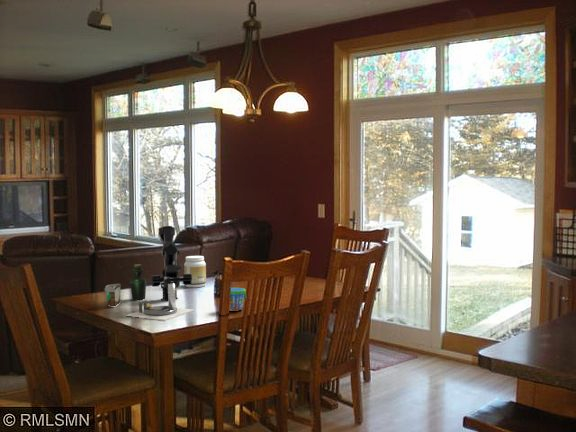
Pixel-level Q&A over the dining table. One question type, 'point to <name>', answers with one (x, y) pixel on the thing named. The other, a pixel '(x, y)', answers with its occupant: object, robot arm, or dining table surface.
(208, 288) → the dining table surface
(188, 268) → the supplement tub
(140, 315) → the level stand
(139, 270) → the potion bottle
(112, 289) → the food container
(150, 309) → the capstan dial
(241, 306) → the snack cup
